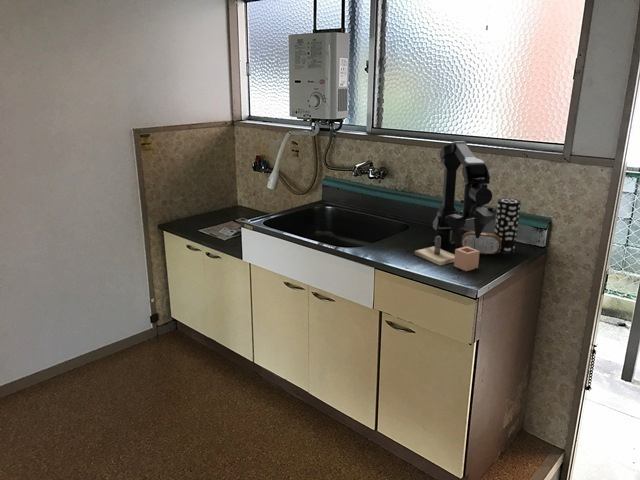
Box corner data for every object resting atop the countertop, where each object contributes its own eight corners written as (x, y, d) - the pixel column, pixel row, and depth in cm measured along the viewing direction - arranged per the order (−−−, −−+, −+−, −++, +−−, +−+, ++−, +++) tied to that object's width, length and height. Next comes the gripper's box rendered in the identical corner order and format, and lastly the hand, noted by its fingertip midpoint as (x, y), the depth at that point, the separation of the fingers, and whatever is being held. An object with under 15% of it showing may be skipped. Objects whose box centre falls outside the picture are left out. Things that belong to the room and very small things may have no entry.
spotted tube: (508, 255, 201) (515, 204, 195) (488, 249, 207) (494, 200, 200) (518, 249, 207) (524, 200, 200) (498, 245, 212) (504, 197, 206)
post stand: (433, 249, 207) (435, 229, 204) (459, 260, 196) (461, 238, 193) (414, 254, 202) (415, 233, 199) (439, 265, 191) (441, 243, 188)
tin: (500, 254, 202) (502, 233, 200) (499, 256, 200) (502, 235, 197) (460, 249, 207) (462, 229, 205) (459, 252, 205) (461, 231, 202)
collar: (465, 262, 193) (467, 246, 191) (477, 267, 188) (479, 251, 186) (453, 265, 190) (455, 249, 188) (466, 271, 185) (467, 254, 183)
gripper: (470, 206, 170) (466, 251, 175) (509, 199, 179) (504, 242, 184) (445, 199, 179) (442, 242, 184) (484, 192, 188) (480, 233, 193)
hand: (468, 240), depth 186 cm, fingers open, 9 cm apart
